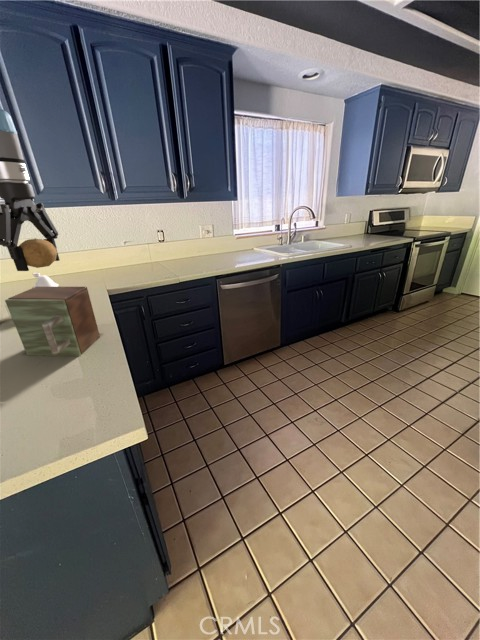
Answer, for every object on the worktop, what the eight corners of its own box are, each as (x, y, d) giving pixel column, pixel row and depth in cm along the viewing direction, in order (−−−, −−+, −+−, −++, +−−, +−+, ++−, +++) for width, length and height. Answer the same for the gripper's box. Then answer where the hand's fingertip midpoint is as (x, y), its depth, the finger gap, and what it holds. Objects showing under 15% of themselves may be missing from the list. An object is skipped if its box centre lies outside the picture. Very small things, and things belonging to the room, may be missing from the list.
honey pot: (36, 317, 117) (21, 278, 109) (37, 308, 127) (24, 271, 119) (69, 311, 123) (58, 273, 115) (68, 303, 133) (58, 267, 125)
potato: (56, 260, 86) (49, 234, 82) (65, 269, 76) (56, 240, 73) (19, 265, 80) (9, 237, 76) (22, 274, 70) (11, 244, 67)
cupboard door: (66, 368, 82) (46, 309, 73) (10, 367, 82) (-17, 309, 74) (81, 354, 89) (64, 299, 80) (29, 353, 89) (7, 299, 81)
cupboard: (81, 354, 89) (65, 298, 81) (30, 353, 90) (7, 298, 81) (100, 337, 100) (86, 286, 91) (53, 336, 101) (36, 286, 92)
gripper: (-16, 179, 57) (19, 276, 66) (58, 184, 79) (77, 256, 88) (-49, 179, 57) (-10, 276, 67) (34, 184, 79) (55, 256, 89)
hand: (40, 265), depth 77 cm, fingers closed on potato, 12 cm apart
